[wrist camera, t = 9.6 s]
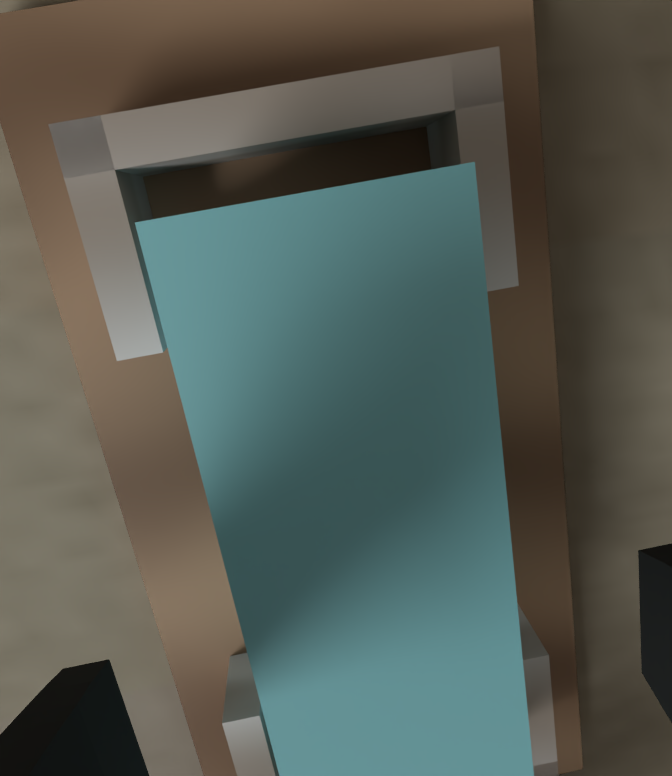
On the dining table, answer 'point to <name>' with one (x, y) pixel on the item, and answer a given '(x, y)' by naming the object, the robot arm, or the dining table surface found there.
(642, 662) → the robot arm
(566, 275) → the dining table surface
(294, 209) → the teal rectangular block
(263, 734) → the wooden bracket tray
